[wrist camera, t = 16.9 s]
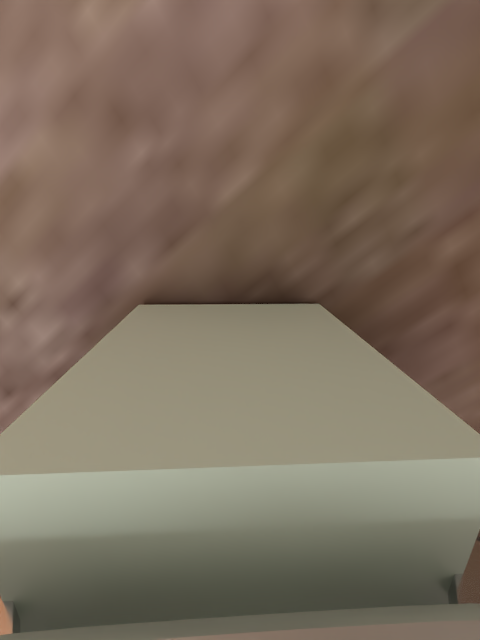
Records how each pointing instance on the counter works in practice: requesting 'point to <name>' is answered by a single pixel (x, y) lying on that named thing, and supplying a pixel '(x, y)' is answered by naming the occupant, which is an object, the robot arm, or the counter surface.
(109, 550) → the pale sage cube
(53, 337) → the counter surface
